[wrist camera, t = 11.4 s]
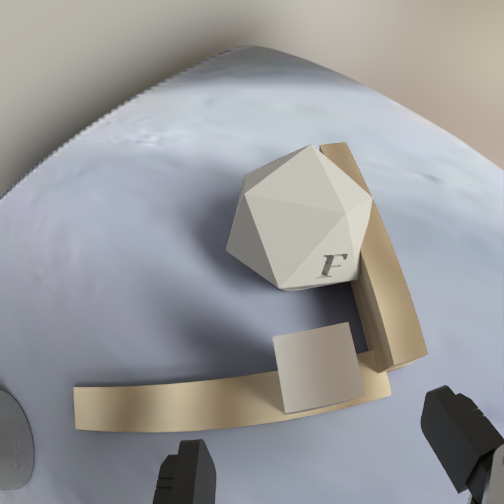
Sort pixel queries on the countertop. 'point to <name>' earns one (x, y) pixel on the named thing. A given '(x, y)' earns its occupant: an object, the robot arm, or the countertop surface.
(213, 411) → the l-shaped corner bracket
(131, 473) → the countertop surface
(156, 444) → the countertop surface
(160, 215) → the countertop surface
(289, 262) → the die
